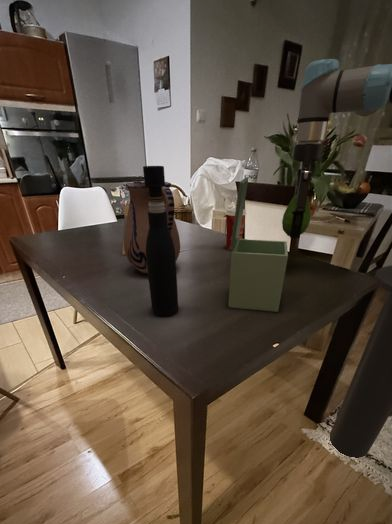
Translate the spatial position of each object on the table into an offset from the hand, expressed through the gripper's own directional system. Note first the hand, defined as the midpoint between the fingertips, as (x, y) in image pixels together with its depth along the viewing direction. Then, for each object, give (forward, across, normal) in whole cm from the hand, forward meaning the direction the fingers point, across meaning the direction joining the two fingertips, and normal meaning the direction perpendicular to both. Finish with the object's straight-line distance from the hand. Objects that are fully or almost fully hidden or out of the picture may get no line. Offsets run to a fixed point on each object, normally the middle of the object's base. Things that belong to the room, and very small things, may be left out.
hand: (293, 234), depth 88 cm
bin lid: (-10, +27, -14) cm, 32 cm away
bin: (+11, +27, -10) cm, 30 cm away
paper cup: (+10, -18, -20) cm, 29 cm away
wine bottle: (+11, +38, -30) cm, 50 cm away
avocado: (+1, 0, 0) cm, 1 cm away
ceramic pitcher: (+10, +12, -42) cm, 44 cm away
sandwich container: (+10, -10, -58) cm, 60 cm away
